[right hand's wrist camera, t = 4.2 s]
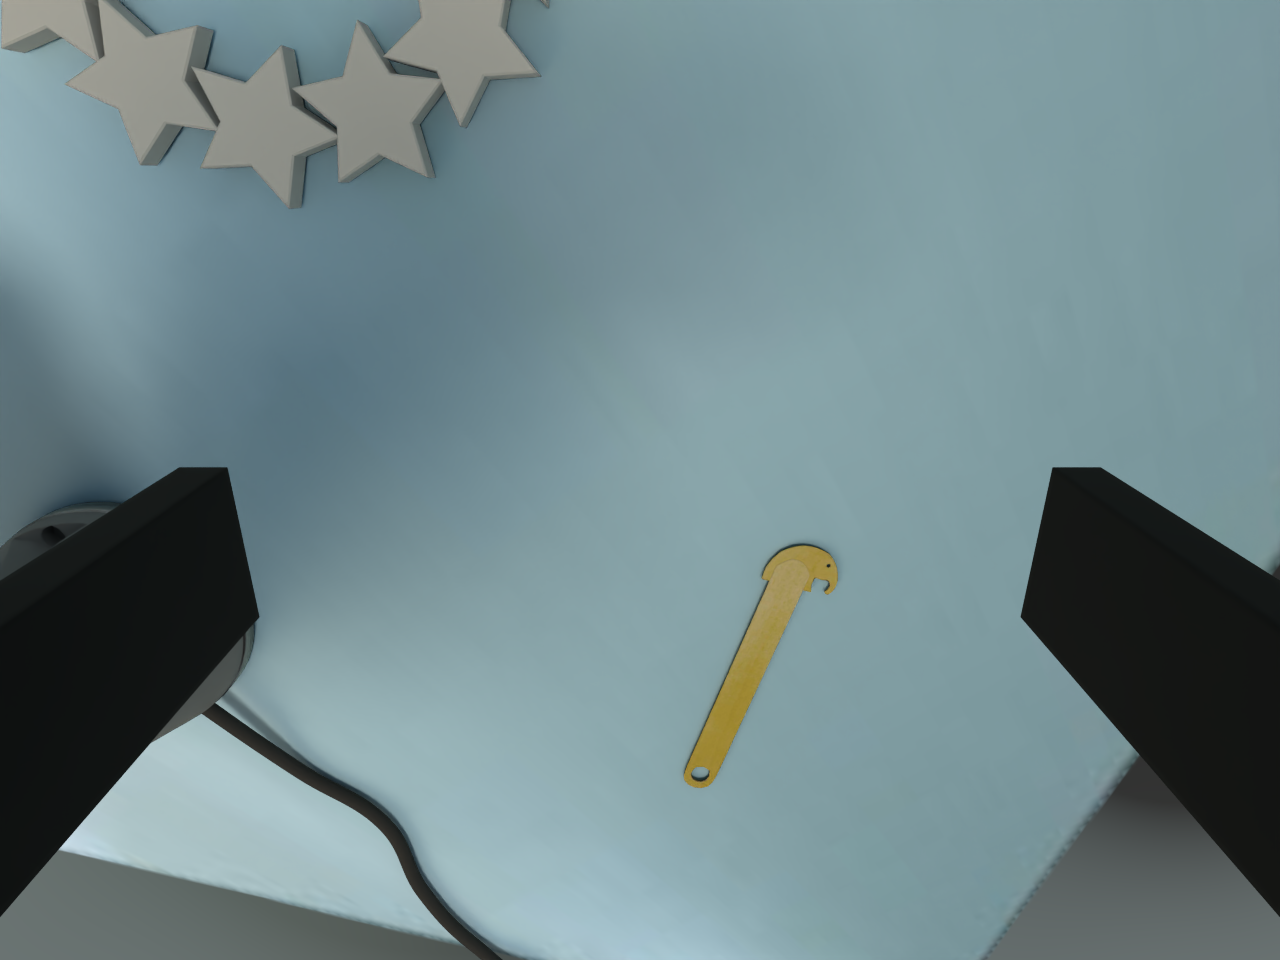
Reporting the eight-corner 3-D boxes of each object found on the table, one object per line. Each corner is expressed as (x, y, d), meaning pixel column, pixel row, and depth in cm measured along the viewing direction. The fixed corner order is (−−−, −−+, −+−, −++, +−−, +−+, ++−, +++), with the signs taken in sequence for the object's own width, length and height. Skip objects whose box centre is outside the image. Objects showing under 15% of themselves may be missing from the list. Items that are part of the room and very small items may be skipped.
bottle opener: (733, 796, 54) (849, 557, 47) (733, 797, 54) (849, 558, 47) (671, 780, 53) (779, 536, 46) (672, 781, 53) (779, 537, 46)
